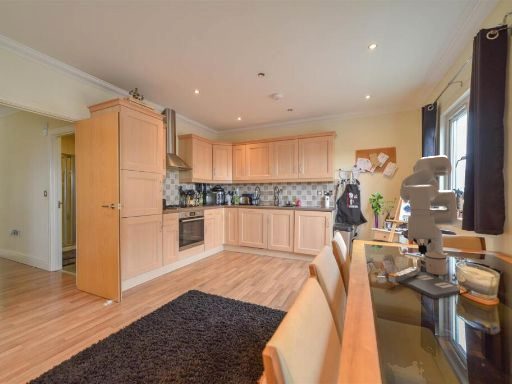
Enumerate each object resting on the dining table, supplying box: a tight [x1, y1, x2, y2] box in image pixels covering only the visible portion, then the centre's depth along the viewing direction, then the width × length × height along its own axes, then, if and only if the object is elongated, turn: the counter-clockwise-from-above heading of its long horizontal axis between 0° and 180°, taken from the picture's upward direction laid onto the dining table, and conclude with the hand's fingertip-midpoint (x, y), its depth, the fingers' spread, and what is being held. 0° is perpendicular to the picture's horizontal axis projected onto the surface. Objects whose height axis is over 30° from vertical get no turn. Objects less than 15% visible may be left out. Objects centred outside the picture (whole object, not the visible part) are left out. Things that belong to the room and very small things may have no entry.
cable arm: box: [388, 265, 421, 284], centre depth 110 cm, size 22×4×3 cm, turn 118°
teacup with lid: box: [417, 250, 448, 276], centre depth 120 cm, size 12×9×12 cm
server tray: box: [398, 271, 460, 299], centre depth 105 cm, size 18×21×2 cm
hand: (422, 253), depth 101 cm, fingers closed
